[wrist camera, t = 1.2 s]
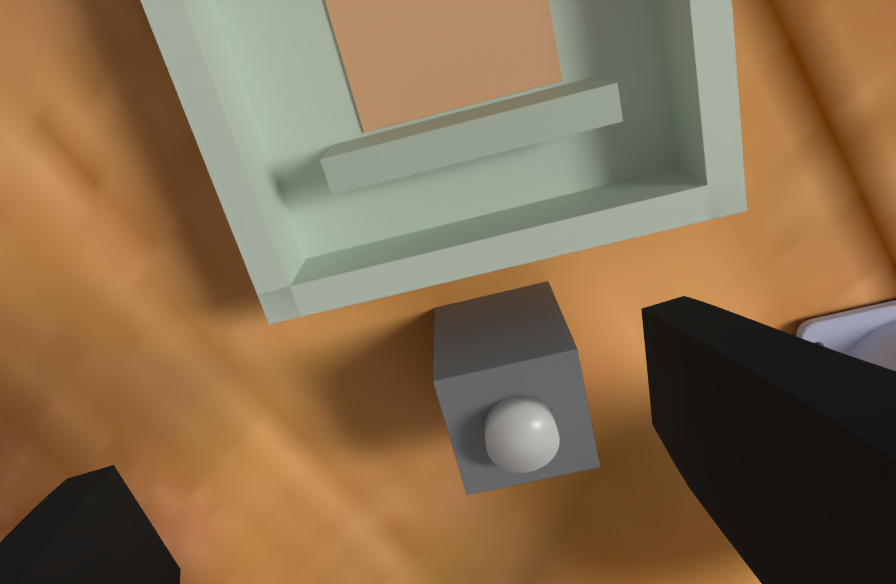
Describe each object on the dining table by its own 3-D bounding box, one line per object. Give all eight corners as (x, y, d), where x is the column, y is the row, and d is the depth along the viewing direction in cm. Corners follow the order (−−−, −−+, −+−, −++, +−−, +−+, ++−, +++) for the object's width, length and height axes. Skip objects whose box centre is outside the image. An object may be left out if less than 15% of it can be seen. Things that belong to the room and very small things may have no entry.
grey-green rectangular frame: (705, 186, 20) (746, 210, 18) (291, 286, 22) (268, 324, 19) (665, -225, 16) (711, -277, 14) (156, -74, 18) (103, -93, 15)
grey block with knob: (568, 379, 23) (606, 485, 18) (461, 403, 24) (467, 513, 18) (548, 280, 22) (583, 363, 16) (434, 307, 22) (432, 396, 17)
